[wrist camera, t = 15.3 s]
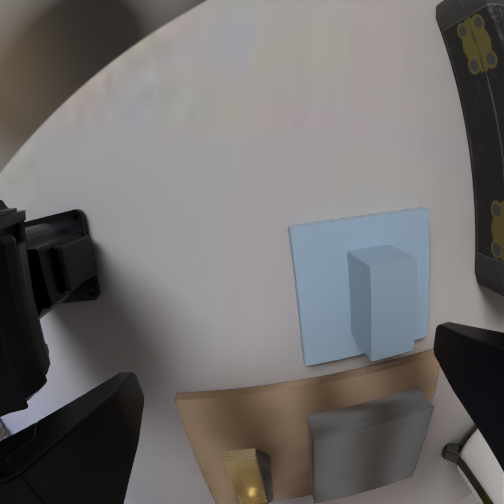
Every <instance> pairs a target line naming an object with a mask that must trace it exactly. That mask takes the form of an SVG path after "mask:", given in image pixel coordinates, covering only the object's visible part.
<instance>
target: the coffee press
mask: <svg viewBox="0 0 504 504" xmlns="http://www.w3.org/2000/svg"><path fill="white" fill-rule="evenodd" d="M448 451H451V452H460V455H457V454H454V453H451V452H448ZM442 457H443V458H444V459H447V460H450V461H452V462H455V463H456V464H457V468H458V471H459V473H460V474H461V476H462V478H463V479H464V481H465V482H466V484H467V485H468V487H469V489H470V490H471V492H472V493H473V495H474V496H475V498H476V500H477V501H478V503H479V504H504V472H503V470H502V468H501V466H500V465H499V463H498V461H497V459H496V458H495V456H494V454H493V453H492V451H491V449H490V447H489V446H488V444H487V442H486V441H485V439H484V438H483V436H482V434H481V433H480V431H479V429H478V428H477V430H476V431H475V432H474V433H473V434H472V435H471V437H470V438H469V439H468V441H467V442H466V444H463V445H456V444H447V445H446V446H445V448H444V450H443V453H442Z"/></svg>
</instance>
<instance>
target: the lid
mask: <svg viewBox="0 0 504 504" xmlns="http://www.w3.org/2000/svg"><path fill="white" fill-rule="evenodd" d="M288 232H289V240H290V247H291V255H292V263H293V271H294V280H295V288H296V297H297V306H298V315H299V324H300V333H301V343H302V353H303V360H304V363H305V366H310V365H315V364H320V363H325V362H330V361H334V360H339V359H344V358H348V357H352V356H357V355H361V354H366V355H367V357H368V358H369V360H370V361H371V362H372V361H376V360H380V359H384V358H388V357H391V356H395V355H398V354H402V353H405V352H409V351H412V350H414V340H417V339H420V338H424V337H426V336H427V324H428V309H429V287H430V238H429V216H428V209H426V208H421V207H420V208H412V209H405V210H397V211H390V212H382V213H375V214H368V215H360V216H353V217H346V218H339V219H332V220H325V221H318V222H311V223H304V224H298V225H291V226H288Z"/></svg>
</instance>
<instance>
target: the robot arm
mask: <svg viewBox="0 0 504 504" xmlns="http://www.w3.org/2000/svg"><path fill="white" fill-rule="evenodd" d="M76 213H77V214H78V216H79V218H78V220H77V219H76V218H75V215H76ZM24 220H26V215H25V210H23V211H17V208H11V209H10V208H7V206H6V205H5V204H4V202H3V201H2V200H0V417H1V416H4V415H6V414H8V413H11V412H16V411H20V410H24V409H27V408H28V404H27V402H26V401H28V400H29V399H30V398H31V397H32V396H33V395H34V394H36V393H37V392H38V391H39V390H40V389H41V388H42V387H43V386H44V385H45V383H46V382H47V379H46V376H45V375H46V374H47V372H48V369H49V366H50V359H49V350H48V346H47V344H45V340H44V336H43V332H42V328H41V324H40V319H41V318H42V317H43V316H45V315H46V314H47V313H48V312H50V311H51V310H52V309H54V308H55V307H56V306H58V305H59V304H60V303H67V302H78V301H89V300H95V299H97V298H98V297H99V296H100V289H99V285H98V281H97V276H96V272H97V269H96V265H95V260H94V255H93V251H92V246H91V241H90V238H89V237H88V235H87V229H86V224H85V218H84V214H83V212H82V210H80V209H76V210H72V211H67V212H63V213H59V214H55V215H51V216H47V217H43V218H39V219H35V220H31V221H28V222H24ZM91 290H93V291H94V292H95V295H93V294H92V292H91ZM433 350H434V355H435V357H436V359H437V361H438V363H439V365H440V367H441V368H442V370H443V372H444V374H445V376H446V378H447V380H448V382H449V383H450V385H451V387H452V389H453V391H454V392H455V394H456V395H457V397H458V398H459V400H460V401H461V403H462V405H463V406H464V408H465V409H466V411H467V412H468V414H469V415H470V417H471V418H472V420H473V422H474V423H475V425H476V426H477V428H478V429H479V431H480V433H481V434H482V436H483V438H484V439H485V441H486V442H487V444H488V446H489V447H490V449H491V451H492V453H493V454H494V456H495V458H496V459H497V461H498V463H499V465H500V466H501V468H502V470H503V472H504V333H502V332H497V331H492V330H487V329H481V328H476V327H471V326H466V325H461V324H456V323H451V322H446V323H443V324H440V325H438V326H437V328H436V333H435V341H434V349H433ZM143 406H144V396H143V392H142V390H141V387H140V384H139V382H138V379H137V376H136V375H135V373H133V372H121V373H119V374H117V375H116V376H114V377H112V378H111V379H109V380H107V381H106V382H104V383H102V384H101V385H99V386H97V387H96V388H94V389H92V390H91V391H89V392H87V393H86V394H84V395H82V396H81V397H79V398H77V399H76V400H74V401H72V402H70V403H69V404H67V405H65V406H64V407H62V408H60V409H58V410H57V411H55V412H53V413H52V414H50V415H48V416H46V417H45V418H43V419H41V420H39V421H38V422H37V423H34V424H32V425H30V426H29V427H27V428H25V429H23V430H21V431H19V432H18V433H16V434H14V435H12V436H10V437H8V438H5V439H3V440H1V441H0V504H124V500H125V495H126V491H127V487H128V482H129V478H130V474H131V470H132V466H133V462H134V458H135V454H136V450H137V446H138V441H139V434H140V427H141V420H142V412H143Z"/></svg>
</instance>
